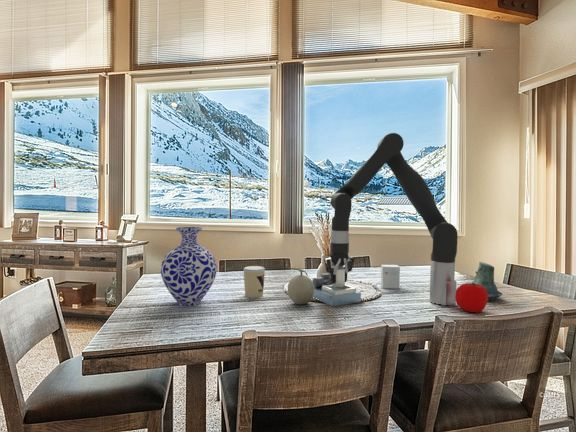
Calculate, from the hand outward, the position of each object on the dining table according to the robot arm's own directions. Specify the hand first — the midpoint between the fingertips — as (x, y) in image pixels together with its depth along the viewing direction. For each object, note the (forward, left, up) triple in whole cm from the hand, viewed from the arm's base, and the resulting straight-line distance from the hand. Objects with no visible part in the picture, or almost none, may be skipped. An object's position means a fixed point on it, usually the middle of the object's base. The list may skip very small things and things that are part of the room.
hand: (338, 282), depth 157 cm
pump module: (0, 0, -1) cm, 1 cm away
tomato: (-34, -38, -8) cm, 51 cm away
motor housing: (+3, 0, -8) cm, 8 cm away
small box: (+9, -37, -8) cm, 39 cm away
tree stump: (-20, -59, -8) cm, 63 cm away
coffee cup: (+23, +28, -8) cm, 37 cm away
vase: (+23, +56, -8) cm, 61 cm away
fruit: (+3, +16, -8) cm, 18 cm away
